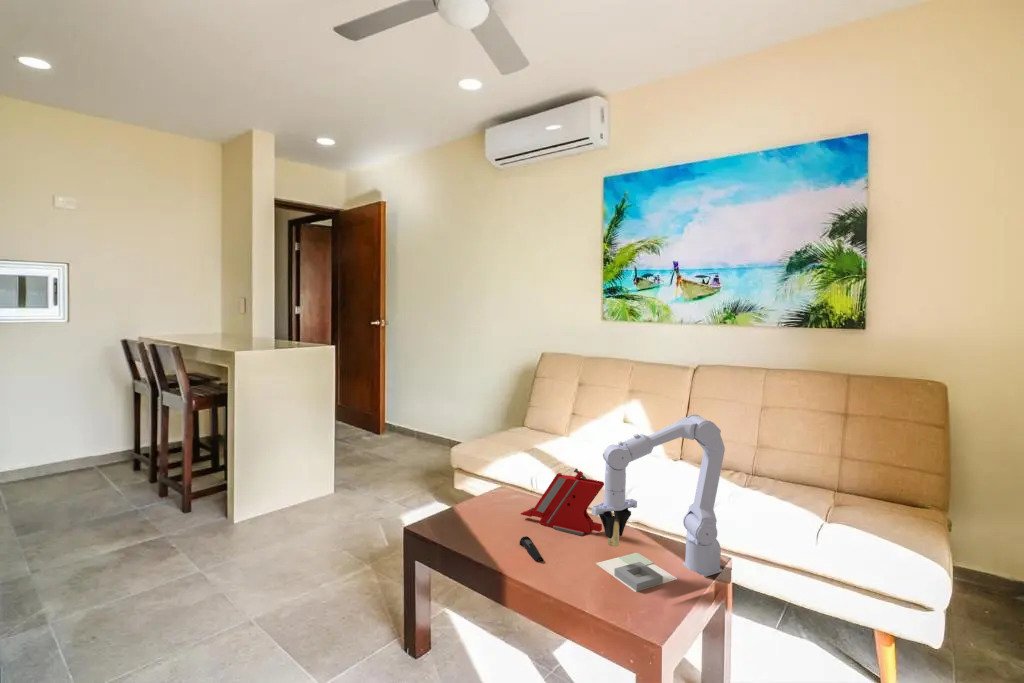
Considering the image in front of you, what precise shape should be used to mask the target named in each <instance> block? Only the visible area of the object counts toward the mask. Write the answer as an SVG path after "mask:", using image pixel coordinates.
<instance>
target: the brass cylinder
mask: <svg viewBox="0 0 1024 683" xmlns="http://www.w3.org/2000/svg"><path fill="white" fill-rule="evenodd" d="M619 527H620V520H619V519H617V518H615V521H614V525H613V536H612V538H608V537H607V538H608V539H607V540H608V541H607V542H608V543H607V545H608V546H610V547H615V548H616V547H618V546H619V545H620V536H619Z"/></svg>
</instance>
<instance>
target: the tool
mask: <svg viewBox="0 0 1024 683" xmlns="http://www.w3.org/2000/svg"><path fill="white" fill-rule="evenodd" d="M573 473H575V474H576V475H575V476H574V475H567V474H563V473H562V472H558V473H556V474H555V476H554V478H553V479H552V480H551V482H550V484H549V485H548V487H547V488H546V490H545V491H544V493H543V494H542V495H541V497H540V499H539V500H538V502H537V503H536V505H535V506H534V507H530V508H529V509H528V510H525V511H522V512H521V513H520V516H521V515H522V516H525V517H530V518H531V517H536V518H540V520H539V521H538V523H539V524H540V525H542V526H547V527H550V528H553V530H556V531H560V532H563V533H568V534H573V535H576V536H577V535H578V536H580V537H585V535H586V534H591V533H592V531H594V532H595V531H596V532H599V533H600V532H601V531H602V530H603V523H598V522H595V521H594V520H593V519H592V518H591V516H590V515H589V514H588V508H589V507H590V505H591V504H592V502H593V501H594V500H595V498H596V497H597V495H598V494H599V493H600V491H601V490H602V488H603V487H605V481H602V480H598V479H597V480H596V479H592V478H587V477H586V476H585V475H584V472H582V471H581V470H578V468H577V467H576V468H575V469H574V470H573Z"/></svg>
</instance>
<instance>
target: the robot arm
mask: <svg viewBox="0 0 1024 683" xmlns="http://www.w3.org/2000/svg"><path fill="white" fill-rule="evenodd" d="M721 431H722V430H721V428H719V427H718V426H717V424H716V423H714V422H713V421H711V420H708V419H706V418H704V417H702V416H701V415H698V414H690V415H688V416H686V417H681V418H680V419H678V420H677V421H676V422H674V423H673V422H672V424H669V425H668V426H665V427H663V428H661V429H659V430H657V431H655V432H654V433H651V434H649V435H646V434H644V433H641V434H639V433H636V434H633V437H631V438H630V439H627V440H625V441H619V442H618V444H614V443H613V444H610V445H608V446H606V448H605V449H604V451H603V453H602V457H603V460H604V461H605V471H604V499H603V502H601V503H598V504H596V505H595V506H591V514H592V515H593V516H595V517H596V516H599V518H600V520H601V524H602V527H603V529H604V534H605V537H606V538H612V536H613V525H614V521H615V518H617V519H619V520H620V527H619V537H622V536H623V534H624V529H625V528H626V524H627V522H628V520H629V519H630V517H631V515H632V511H631V510H630V509H631V508H633V509H636V508H637V507H638V501H637V500H636V499H634V498H629V499H628V498H627V499H626V482H627V480H626V479H627V473H626V471H627V470H626V469H627V467H628V466H629V464H630V463H632V462H634V461H635V460H638V459H640V458H641V459H642V458H643V457H646V456H647V455H650V454H652V451H653V449H654V448H655V447H657V446H661V445H663V444H665V443H668V442H672V441H674V440H677V439H680V438H681V439H687V440H690V441H694V440H695V441H696V442H697V443H698V444H699V446H700V447H701V449H703V452H702V458H701V464H700V469H699V473H698V480H697V482H696V483H697V485H696V489H695V490H696V491H695V494H694V501H693V503H692V504H690V505H689V506H688V510H687V512H686V514H685V515H684V517H683V521H682V523H683V526H684V528H685V529H686V535H685V536H686V537H685V557H684V558H685V559H684V560H685V561H684V562H683V563H681V565H683V566H685V568H687V570H688V571H689V570H690V571H691V572H694V573H697V574H699V575H701V576H702V577H703V578H706V577H708V576H709V577H710V576H713V575H715V574H719V573H723V569H722V568H721V558H722V557H721V556H722V554H721V553H722V552H721V551H722V549H721V544H720V542H719V541H718V539H717V538H718V529H717V521H718V520H717V517H716V513H715V511H714V510H715V509H714V507H715V503H716V498H717V491H718V487H719V482H720V477H721V472H722V466H723V461H724V456H725V451H726V447H725V443H724V441H723V438H722V435H721ZM612 512H613V513H612ZM613 514H614V515H613Z"/></svg>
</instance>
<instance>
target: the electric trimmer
mask: <svg viewBox="0 0 1024 683" xmlns="http://www.w3.org/2000/svg"><path fill="white" fill-rule="evenodd" d="M519 545H520V546H523V547H524V549H525V550H526V552H527V554H528V555H529V556H530V557H531V558H532V560H533V561H535V562H538V563H539V561H540V562H543V561H544V558H543V557H542V555H541V554H540V552H539V550H538V549H537V547H536V545H535V543H534V541H533V540H532V539H531V538H530V537H529V536H527V535H526V536H522V537H521V538H520V540H519Z"/></svg>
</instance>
